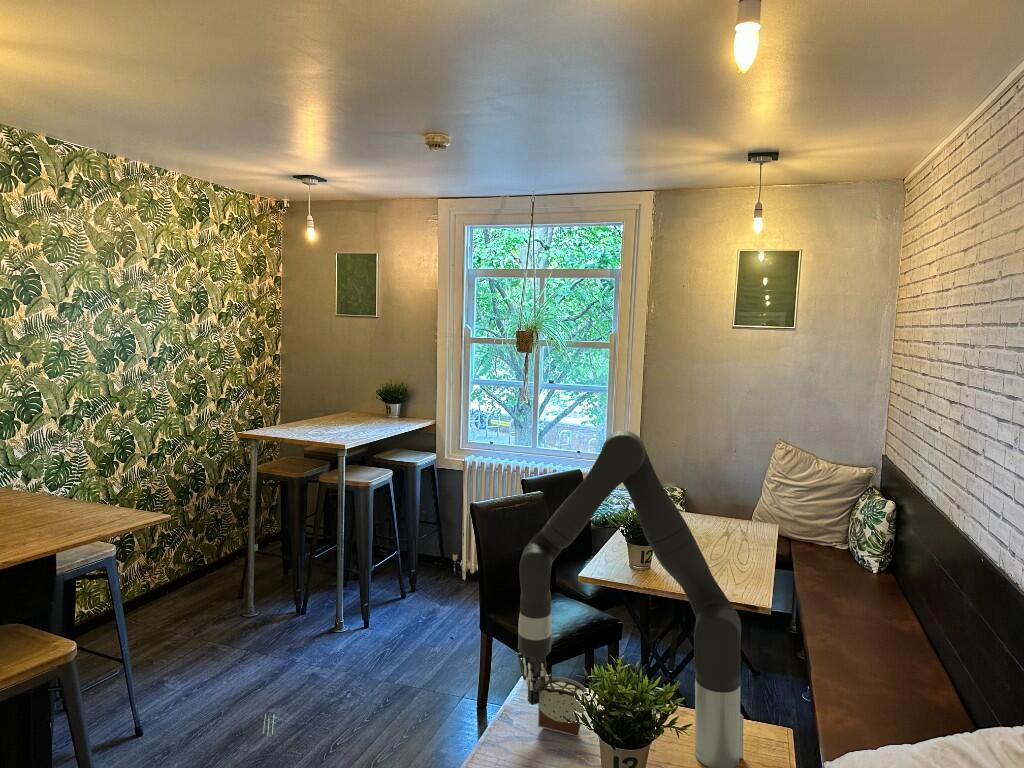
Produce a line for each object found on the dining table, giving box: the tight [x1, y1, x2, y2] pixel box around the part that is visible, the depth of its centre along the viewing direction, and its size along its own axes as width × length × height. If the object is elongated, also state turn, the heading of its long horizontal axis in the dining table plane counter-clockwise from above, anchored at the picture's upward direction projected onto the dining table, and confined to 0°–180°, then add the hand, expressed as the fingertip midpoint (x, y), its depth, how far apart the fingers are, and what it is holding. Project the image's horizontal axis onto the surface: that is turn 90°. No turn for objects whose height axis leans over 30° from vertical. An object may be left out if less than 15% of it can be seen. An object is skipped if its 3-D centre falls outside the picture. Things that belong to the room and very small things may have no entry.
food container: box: [537, 676, 588, 737], centre depth 153 cm, size 12×6×10 cm, turn 76°
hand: (533, 702), depth 151 cm, fingers closed
